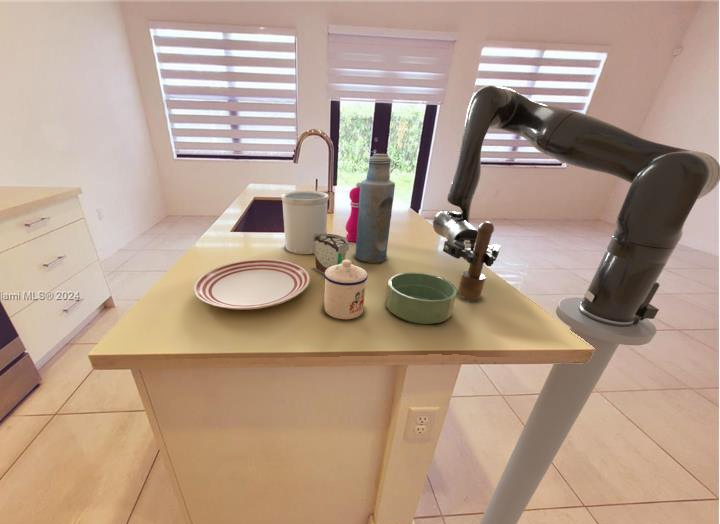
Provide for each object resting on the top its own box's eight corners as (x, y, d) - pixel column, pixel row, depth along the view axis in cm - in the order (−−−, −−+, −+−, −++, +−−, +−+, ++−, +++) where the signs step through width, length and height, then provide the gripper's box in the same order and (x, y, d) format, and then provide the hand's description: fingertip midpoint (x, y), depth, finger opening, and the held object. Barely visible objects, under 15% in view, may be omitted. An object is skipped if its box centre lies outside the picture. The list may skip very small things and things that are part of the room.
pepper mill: (366, 238, 117) (372, 181, 108) (361, 243, 111) (366, 184, 102) (348, 235, 120) (352, 180, 111) (342, 240, 114) (345, 182, 105)
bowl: (444, 297, 76) (449, 275, 73) (457, 330, 63) (464, 304, 61) (384, 292, 78) (387, 270, 75) (386, 323, 65) (389, 297, 62)
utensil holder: (295, 258, 97) (294, 200, 89) (276, 244, 109) (273, 192, 100) (335, 251, 104) (337, 196, 96) (313, 238, 115) (314, 189, 107)
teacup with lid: (356, 324, 64) (360, 272, 59) (316, 314, 68) (317, 264, 62) (372, 300, 74) (377, 253, 69) (337, 292, 77) (339, 247, 72)
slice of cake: (356, 277, 85) (359, 242, 81) (338, 282, 82) (340, 246, 77) (329, 263, 94) (330, 230, 89) (312, 267, 91) (312, 233, 86)
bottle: (371, 265, 93) (382, 155, 79) (348, 256, 100) (355, 153, 86) (392, 259, 98) (406, 154, 84) (369, 250, 105) (379, 152, 91)
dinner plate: (183, 324, 63) (180, 310, 62) (205, 271, 87) (203, 259, 86) (317, 315, 67) (317, 301, 66) (303, 266, 91) (303, 256, 90)
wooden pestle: (477, 290, 78) (496, 219, 70) (483, 299, 74) (504, 225, 65) (455, 288, 79) (472, 218, 71) (460, 297, 74) (478, 224, 66)
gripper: (439, 223, 84) (453, 243, 68) (494, 226, 82) (521, 247, 67) (433, 250, 87) (446, 274, 72) (487, 253, 85) (511, 279, 70)
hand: (482, 261), depth 69 cm, fingers closed on wooden pestle, 3 cm apart
